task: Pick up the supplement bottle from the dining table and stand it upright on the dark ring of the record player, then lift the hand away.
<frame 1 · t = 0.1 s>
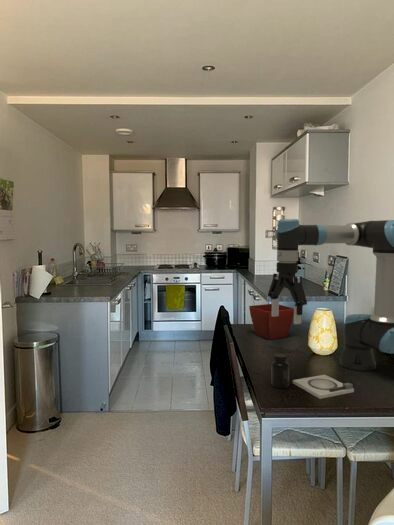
hand: (285, 319, 144), 28 cm above the table, tool pointing down, fingers open, 13 cm apart
supplement bottle: (279, 385, 154), on the table
record player: (322, 387, 152), on the table
plant pot: (270, 336, 227), on the table
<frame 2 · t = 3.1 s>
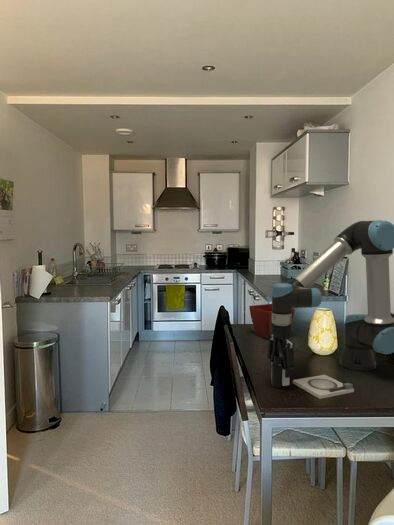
hand: (279, 381, 154), 2 cm above the table, tool pointing down, fingers closed on supplement bottle, 7 cm apart
supplement bottle: (279, 385, 154), on the table, touching gripper
everything else where it was.
when the fingers open (4 cm above the table, at t = 9.6 s): supplement bottle drops 1 cm, resting on record player.
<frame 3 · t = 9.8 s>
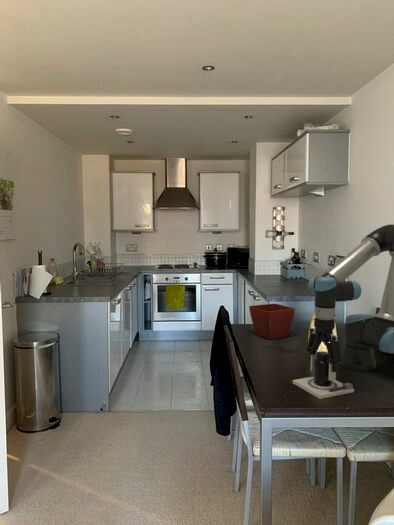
hand: (322, 375, 152), 5 cm above the table, tool pointing down, fingers open, 9 cm apart
supplement bottle: (322, 384, 152), point 1 cm above the table, touching record player
everything else where it was.
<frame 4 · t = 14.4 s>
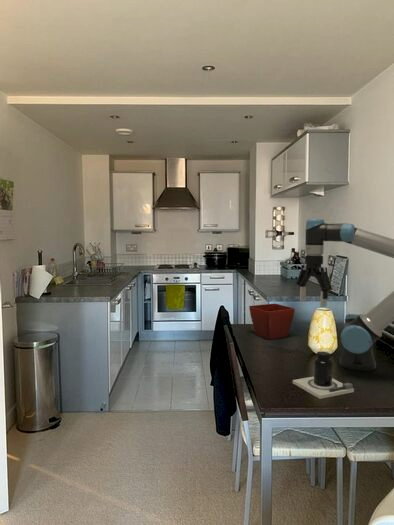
hand: (312, 303, 171), 29 cm above the table, tool pointing down, fingers open, 13 cm apart
nothing on the table moved.
at the end: supplement bottle 0.1 cm off-centre on the record player, point 1.3 cm above the record player's base; supplement bottle tilted 0°; the gripper is holding nothing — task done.
